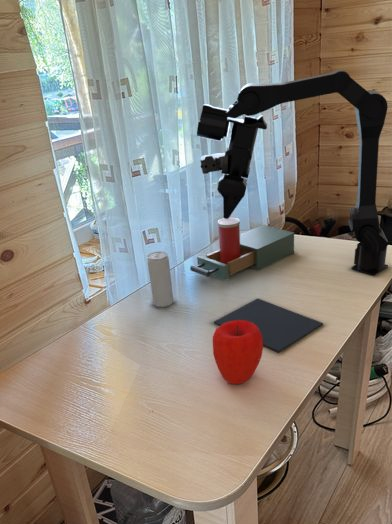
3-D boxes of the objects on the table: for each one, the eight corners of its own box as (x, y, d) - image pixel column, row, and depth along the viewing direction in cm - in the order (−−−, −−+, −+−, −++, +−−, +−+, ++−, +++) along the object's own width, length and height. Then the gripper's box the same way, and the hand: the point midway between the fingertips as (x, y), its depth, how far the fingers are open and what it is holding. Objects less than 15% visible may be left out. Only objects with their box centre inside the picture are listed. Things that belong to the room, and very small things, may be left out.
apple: (262, 394, 88) (261, 340, 82) (211, 392, 90) (207, 339, 84) (264, 365, 95) (264, 314, 90) (218, 364, 97) (214, 313, 91)
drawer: (212, 286, 124) (211, 272, 122) (185, 276, 130) (184, 262, 128) (262, 263, 133) (261, 249, 131) (234, 254, 140) (234, 241, 138)
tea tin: (245, 261, 132) (244, 220, 126) (230, 268, 129) (228, 226, 123) (230, 256, 136) (228, 216, 130) (215, 263, 133) (213, 221, 127)
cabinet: (257, 269, 132) (257, 249, 129) (227, 259, 139) (226, 240, 136) (293, 252, 140) (294, 232, 137) (263, 243, 147) (262, 224, 144)
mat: (323, 325, 106) (323, 323, 106) (278, 353, 98) (278, 351, 98) (257, 300, 118) (257, 298, 117) (213, 323, 110) (213, 321, 110)
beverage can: (177, 300, 121) (171, 252, 115) (167, 309, 117) (161, 260, 111) (159, 297, 123) (153, 250, 117) (149, 306, 119) (142, 258, 113)
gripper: (211, 130, 124) (199, 194, 132) (201, 147, 108) (189, 217, 117) (256, 140, 124) (242, 203, 132) (252, 158, 108) (237, 228, 117)
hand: (227, 212), depth 124 cm, fingers open, 9 cm apart
